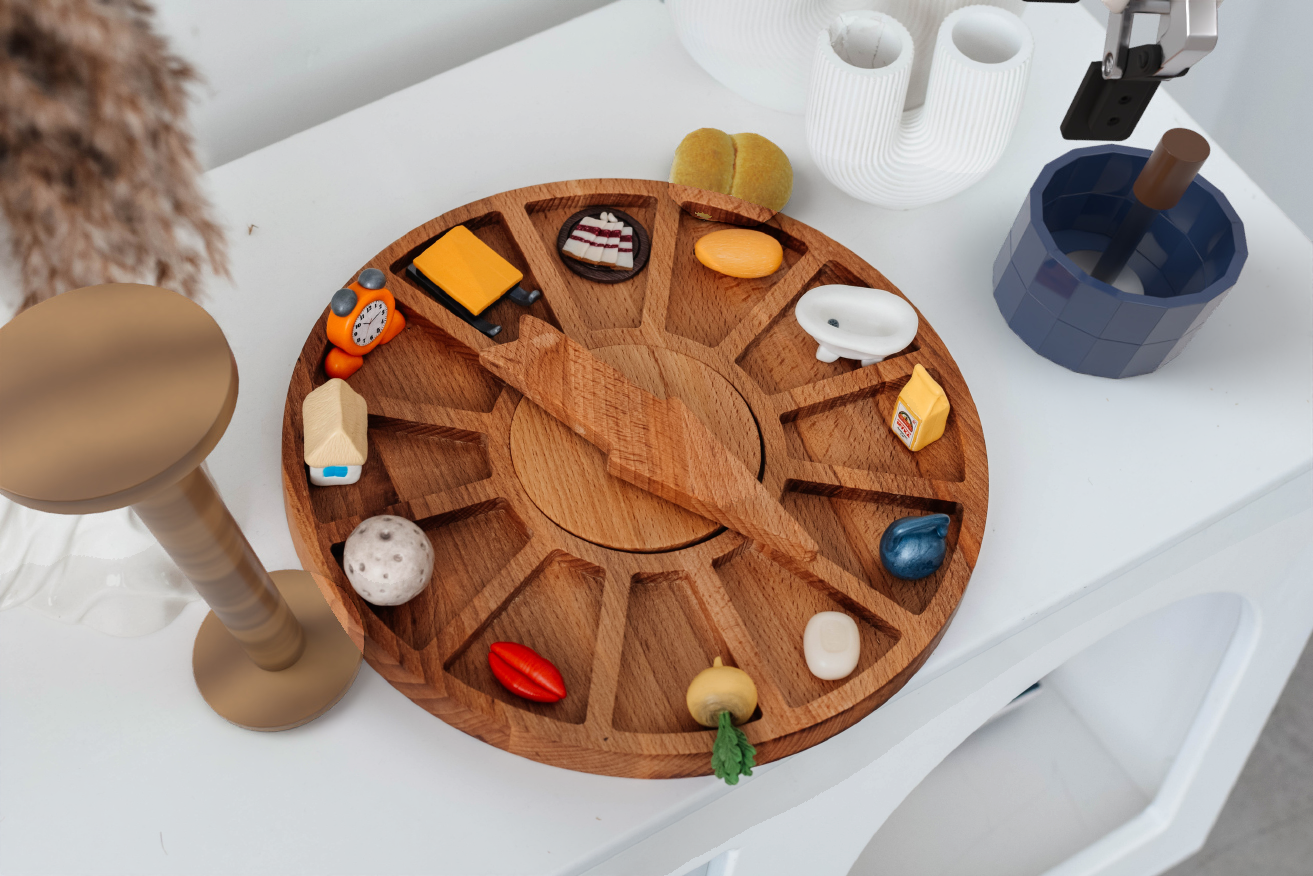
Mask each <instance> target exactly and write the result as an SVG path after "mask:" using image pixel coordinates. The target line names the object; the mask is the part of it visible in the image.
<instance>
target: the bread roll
mask: <svg viewBox="0 0 1313 876" xmlns="http://www.w3.org/2000/svg"><path fill="white" fill-rule="evenodd" d="M668 182H669V183H675V184H680V185H686V186H691V187H696V188H700V189H704V190H710V191H713V192H719V193H722V194H727V195H732V196H734V197H736V198H740V199H742V200H745V201H748V202H750V203H754V204H758V205H761V206H763V207H766V208H769V209H772V210H774V211H777V212H779V213H780V212H781V211H782V210H783V209H785V207H786V206H787V205H788V203H789V201H790V199H791V198H792V195H793V189H794V171H793V167H792V165H791V161H790V159H789V157H788V156H787V154H786V152H785V151H783V149H782V148H781V147H779V146H778V145H777V144H776V143H774V142H773V141H771V140H770V139H769V138H766V137H765V136H763V135H761V134H759V133H755V132H738V133H732V134H728V133H726V132H725V131H723V130H721V129H718V128H715V127H701V128H697V129H696V130H693V131H692V132H689V133H687V134H686V135H685V136H684V137H683V139H682V140H681V142H680V143H679V144H678V146H677V147H676V148H675V151H674V155H673V159H672V162H671V165H670V171H669V176H668V179H667V183H668ZM695 214H697V216H700V217H703V218H705V219H708V218H711V217H712V216H709V215H708V214H704V213H703V212H702V213H699V212H698V213H696V212H695Z"/></svg>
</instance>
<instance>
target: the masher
mask: <svg viewBox="0 0 1313 876" xmlns="http://www.w3.org/2000/svg"><path fill="white" fill-rule="evenodd" d="M1210 155H1211V145H1210V143H1209V141H1208V140H1207V139H1206V138H1205V136H1203V135H1201V134H1200V133H1199V132H1197V131H1195V130H1193V129H1190V128H1185V127H1173V128H1170V129H1168V130H1167V131H1165V132H1164V133H1163V135H1162V136H1161V137H1160V139H1159V141H1158V142H1157V145H1156V146H1155V148H1154V149H1153V153H1152V154H1151V156H1150V158H1149V159H1148V161H1147V163H1146V164H1145V166H1144V168H1143V169H1142V171H1141V173H1140V174H1139V176H1138V178H1137V179H1136V181H1135V183H1134V185H1133V192H1134V194H1135V196H1136V198H1137V199H1136V200H1135V202H1134V204H1133V205H1132V207H1131V209H1130V210H1129V212H1128V214H1127V215H1126V217H1125V218H1124V220H1123V222H1122V223H1121V225H1120V227H1119V228H1118V230H1117V232H1116V233H1115V235H1114V236H1113V238H1112V240H1111V241H1110V243H1109V245H1108V246H1107V248H1106V249H1105V251H1104V252H1100V251H1095V250H1078V251H1073V252H1070V253H1067V254H1066V256H1067V257H1068V258H1069V259H1070V260H1072V261H1073V262H1074V263H1075V264H1076V265H1077V266H1078V267H1080V268H1081V269H1082V270H1083V271H1084V272H1085V273H1086V274H1087V275H1089V276H1092V277H1094V278H1096V279H1098V280H1100V281H1102V282H1104V283H1107V284H1109V285H1111V286H1113V287H1115V288H1117V289H1119V290H1122V291H1124V292H1128V293H1134V294H1140V295H1144V288H1143V285H1142V282H1141V280H1140V278H1139V277H1138V275H1137V274H1136V273H1135V272H1134V270H1133V269H1132V268H1130V267H1129V266H1128V265H1127V264H1126V263H1127V262H1128V260H1129V259H1130V257H1131V256H1132V254H1133V253H1134V251H1135V249H1136V248H1137V246H1138V245H1139V243H1140V242H1141V240H1142V239H1143V237H1144V236H1145V234H1146V232H1147V231H1148V229H1149V228H1150V226H1151V225H1152V223H1153V222H1154V220H1155V219H1156V217H1157V215H1158V214H1159V212H1160V211H1161V210H1167V209H1171V208H1173V207H1174V206H1176V205H1177V203H1178V202H1179V200H1180V199H1181V197H1182V196H1183V194H1184V193H1185V191H1186V190H1187V188H1188V187H1189V185H1190V184H1191V182H1192V181H1193V179H1194V178H1195V176H1196V175H1197V173H1199V172H1200V170H1201V169H1202V168H1203V166H1204V165H1205V162H1206V161H1207V160H1208V158H1209V157H1210Z"/></svg>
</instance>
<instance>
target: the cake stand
mask: <svg viewBox="0 0 1313 876" xmlns="http://www.w3.org/2000/svg"><path fill="white" fill-rule="evenodd" d="M239 390H240V375H239V368H238V363H237V360H236V357H235V354H234V351H233V350H232V348H231V346H230V344H229V342H228V339H227V338H226V335H225V333H224V332H223V329H222V328H221V326H220V325H219V324H218V322H217V321H216V320H215V318H214V317H213V316H212V315H211V314H210V313H209V312H208V311H207V310H206V309H205V308H204V307H202V306H201V305H199V304H198V303H197V302H195V301H194V300H192V299H191V298H189V297H188V296H187V297H186V296H185V295H183V294H181V293H179V292H176V291H174V290H170V289H168V288H166V287H160V286H157V285H152V284H147V283H146V284H145V283H137V282H110V283H109V282H107V283H100V284H94V285H88V286H83V287H78V288H75V289H72V290H68V291H65V292H62V293H59V294H57V295H54V296H51V297H49V298H47V299H45V300H43V301H41V302H40V301H39V302H38V303H36V304H34V305H32V306H31V307H29V308H27V309H26V310H24V311H22V312H21V313H19V314H18V315H16V316H14V317H13V318H12V319H10V320H9V321H8V322H6V323H5V324H4V325H3V326H1V327H0V495H1V496H3V497H4V498H6V499H8V500H10V501H11V502H13V503H15V504H18V505H20V506H22V507H26V508H27V509H30V510H33V511H38V512H43V513H46V514H54V515H63V516H84V515H93V514H103V513H107V512H112V511H116V510H121V509H124V508H127V507H130V508H131V509H132V511H133V512H134V513H135V514H136V516H137V517H138V519H140V521H141V522H142V523H143V524H144V525H145V527H146V528H147V529H148V531H149V532H150V533H151V535H152V536H153V537H154V538H155V539H156V541H157V542H158V543H159V545H160V546H161V547H162V548H163V550H164V551H165V552H166V553H167V555H168V556H169V557H170V559H172V561H173V563H174V564H175V565H176V566H177V567H178V569H179V570H180V572H181V573H182V574H183V575H184V576H185V578H186V579H187V580H188V581H189V583H190V584H191V585H192V586H193V588H194V589H195V590H196V591H197V593H198V594H199V595H200V596H201V598H202V599H203V600H204V601H205V603H206V604H207V606H208V607H209V608H210V610H209V611H208V613H207V614H206V615H205V617H204V619H203V621H201V624H200V626H199V628H198V631H197V633H196V636H195V639H194V643H193V647H192V656H191V657H192V658H191V666H192V674H193V679H194V683H195V685H196V687H197V690H198V692H199V694H200V695H201V697H202V698H203V700H204V702H205V703H206V704H207V706H209V708H211V710H212V711H214V712H215V713H216V714H217V715H218V716H219V717H221V718H222V719H223V720H224V721H227V722H228V723H229V724H231V725H234V726H236V727H239V728H242V729H245V730H249V731H255V732H262V733H263V732H265V733H266V732H267V733H268V732H279V731H288V730H291V729H294V728H298V727H300V726H303V725H305V724H308V723H311V722H312V721H313V720H316V719H317V718H319V717H321V716H322V715H323V714H325V713H326V712H329V711H330V709H332V708H333V707H334V706H335V705H336V704H338V703H339V701H340V700H341V699H342V698H343V697H344V696H345V695H346V694H347V692H348V691H349V690H350V688H351V687H352V685H353V684H354V682H355V680H356V678H357V676H358V675H359V672H360V670H361V666H362V664H363V660H364V656H363V654H362V652H361V650H359V649H358V647H357V646H356V645H355V643H354V642H353V641H352V640H351V638H350V637H349V635H348V634H347V633H346V631H345V630H344V628H343V627H342V625H341V623H340V622H339V621H338V619H337V617H336V616H335V614H334V613H333V611H332V610H331V607H330V606H329V604H328V603H327V601H326V599H325V598H324V595H323V594H322V592H321V590H320V588H318V585H317V584H316V582H315V580H314V579H313V577H312V575H311V573H310V572H311V571H309V570H304V569H295V568H293V569H287V568H286V569H277V570H272V571H268V570H267V569H266V567H265V566H264V564H263V563H262V561H261V560H260V557H259V556H258V555H257V553H256V551H255V550H254V548H253V546H252V545H251V544H250V541H249V540H248V538H247V537H246V535H245V533H244V532H243V531H242V529H241V527H240V525H239V524H238V522H237V521H236V520H235V518H234V516H233V514H232V513H231V511H230V509H229V508H228V507H227V504H226V503H225V502H224V500H223V499H222V498H221V496H220V494H219V492H218V491H217V489H216V487H215V485H214V484H213V482H212V481H211V479H210V478H209V476H208V474H207V473H206V471H205V470H204V468H203V466H202V465H201V464H202V463H203V462H204V461H205V460H206V458H208V456H210V454H211V453H212V452H213V451H214V450H215V448H216V447H217V445H218V444H219V443H220V442H221V440H222V438H223V437H224V435H225V434H226V431H227V429H228V428H229V426H230V423H231V422H232V420H233V416H234V414H235V411H236V408H237V403H238V398H239V392H240V391H239Z"/></svg>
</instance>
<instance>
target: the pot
mask: <svg viewBox="0 0 1313 876" xmlns="http://www.w3.org/2000/svg"><path fill="white" fill-rule="evenodd" d="M1153 151H1154V149H1149V148H1141V147H1135V146H1130V145H1122V144H1116V143H1105V144H1098V145H1097V144H1096V145H1091V146H1084V147H1076V148H1073V149H1070V150H1069V151H1067V152H1065V153H1063V154H1062V155H1060V156H1058V157H1056V158H1055V159H1053V160H1051V161H1049V162H1048V163H1045V164H1044V165H1043V167H1042V169H1041V170H1040V172H1039V174H1038V175H1037V177H1036V179H1035V180H1034V182H1033V183H1032V185H1031V187H1030V188H1029V190H1028V193H1027V194H1026V197H1025V198H1024V201H1023V203H1022V205H1021V207H1020V209H1019V211H1018V213H1017V215H1016V217H1015V219H1014V221H1013V223H1012V225H1011V228H1010V230H1009V232H1008V233H1007V236H1006V238H1005V240H1004V242H1003V243H1002V245H1001V248H1000V250H999V252H998V254H997V256H996V259H995V260H994V263H993V266H992V294H993V298H994V300H995V303H996V305H997V307H998V310H999V312H1000V313H1001V314H1000V315H1002V317H1003V319H1004V320H1005V323H1006V324H1007V326H1008V328H1009V329H1010V330H1012V331H1013V333H1014V334H1015V335H1017V337H1018V338H1019V339H1020V340H1021V341H1022V342H1024V343H1025V344H1026V345H1027V346H1028V347H1029V348H1030V349H1031V350H1033V351H1034V352H1035V353H1036V354H1037V355H1039V356H1041V357H1042V358H1044V359H1046V360H1047V359H1048V360H1049V361H1051V363H1054V364H1055V365H1058V366H1061V367H1063V368H1065V369H1067V370H1070V371H1072V372H1074V373H1078V374H1084V375H1088V376H1092V377H1100V378H1108V379H1115V380H1117V379H1123V378H1132V377H1137V376H1138V377H1139V376H1142V375H1147V374H1152V373H1155V372H1156V371H1158V370H1159V369H1161V368H1162V367H1163V366H1165V365H1167V364H1168V363H1169V362H1170V361H1172V360H1174V359H1175V358H1176V357H1177V356H1179V355H1180V354H1181V353H1182V352H1183V350H1185V348H1186V347H1187V346H1188V345H1189V343H1190V342H1191V340H1193V338H1194V337H1195V335H1197V333H1198V332H1199V330H1200V329H1201V328H1203V326H1204V324H1205V323H1206V322H1207V321H1208V319H1209V318H1210V317H1211V315H1212V314H1213V313H1214V312H1215V310H1217V308H1218V307H1219V306H1220V304H1221V303H1222V302H1223V301H1224V299H1225V298H1226V297H1227V296H1228V294H1229V293H1230V292H1231V290H1232V289H1233V288H1234V287H1235V285H1236V284H1237V283H1238V281H1239V278H1240V276H1241V274H1242V271H1243V268H1244V266H1245V264H1246V262H1247V260H1248V257H1249V249H1248V243H1247V236H1246V230H1245V223H1244V222H1243V220H1242V219H1241V217H1240V216H1239V214H1238V213H1237V211H1236V209H1235V208H1234V206H1233V205H1232V203H1231V202H1230V200H1229V199H1228V197H1227V196H1226V195H1225V193H1224V192H1223V191H1222V190H1221V189H1219V188H1218V187H1217V186H1216V185H1214V184H1213V183H1211V181H1209V180H1208V179H1207V178H1205V176H1203V175H1201V173H1199V172H1198V173H1197V175H1196V176H1195V178H1194V179H1193V181H1192V182H1191V184H1190V185H1189V187H1188V188H1187V190H1186V191H1185V193H1184V194H1183V196H1182V197H1181V199H1180V200H1179V202H1178V203H1177V205H1176V206H1174V207H1173V208H1171V209H1167V210H1161V211H1160V212H1159V214H1158V215H1157V217H1156V219H1155V220H1154V222H1153V223H1152V225H1151V226H1150V228H1149V229H1148V231H1147V232H1146V234H1145V236H1144V237H1143V239H1142V240H1141V242H1140V243H1139V245H1138V246H1137V248H1136V249H1135V251H1134V253H1133V254H1132V256H1131V257H1130V259H1129V260H1128V262H1127V263H1126V264H1127V265H1128V266H1129V267H1130V268H1132V269H1133V270H1134V272H1135V273H1136V274H1137V275H1138V277H1139V278H1140V280H1141V282H1142V285H1143V288H1144V295H1140V294H1134V293H1128V292H1124V291H1122V290H1119V289H1117V288H1115V287H1113V286H1111V285H1109V284H1107V283H1104V282H1102V281H1100V280H1098V279H1096V278H1094V277H1092V276H1089V275H1087V274H1086V273H1085V272H1084V271H1083V270H1082V269H1081V268H1080V267H1078V266H1077V265H1076V264H1075V263H1074V262H1073V261H1072V260H1070V259H1069V258H1068V257H1067V256H1066V254H1067V253H1070V252H1073V251H1078V250H1095V251H1100V252H1104V251H1105V249H1106V248H1107V246H1108V245H1109V243H1110V241H1111V240H1112V238H1113V236H1114V235H1115V233H1116V232H1117V230H1118V228H1119V227H1120V225H1121V223H1122V222H1123V220H1124V218H1125V217H1126V215H1127V214H1128V212H1129V210H1130V209H1131V207H1132V205H1133V204H1134V202H1135V200H1136V199H1137V198H1136V196H1135V194H1134V192H1133V185H1134V183H1135V181H1136V179H1137V178H1138V176H1139V174H1140V173H1141V171H1142V169H1143V168H1144V166H1145V164H1146V163H1147V161H1148V159H1149V158H1150V156H1151V154H1152V153H1153Z"/></svg>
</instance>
